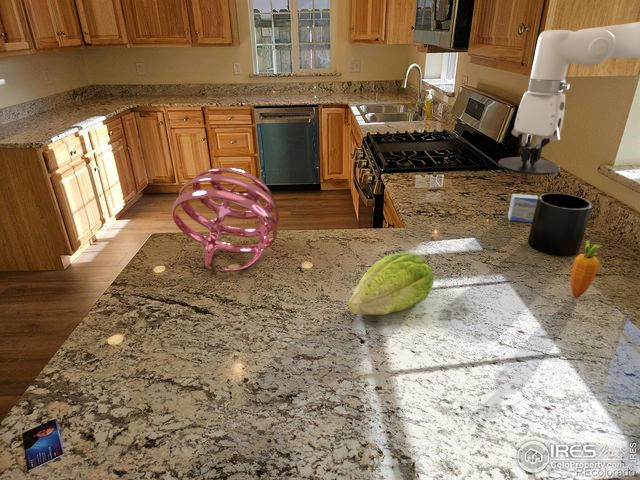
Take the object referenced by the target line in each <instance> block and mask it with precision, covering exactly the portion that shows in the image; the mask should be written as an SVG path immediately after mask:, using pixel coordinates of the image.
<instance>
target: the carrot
mask: <svg viewBox="0 0 640 480" xmlns="http://www.w3.org/2000/svg"><path fill="white" fill-rule="evenodd" d="M590 242H591V241H590V240H586V241H585V246H584V253H580V254H578V255H576V256H575V257H574V260H573V264H572V267H571V272H570V290H571V294H572V296H573V298H574V299H579V298H580V297H582V295H584V294H585V293H586V292H587V291H588V289H589V288H590V286H591V285H592V283H593V281H594V280H595V277H596V275H597V273H598V271H599V267H600V260H599V259H598V258H597V257H596V256H598V253H597V252H595V251H597V250H598V249H600V248H602V246H601V245H600V244H599V245H598V244H594V245H593V246H591V243H590Z"/></svg>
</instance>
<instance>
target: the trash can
mask: <svg viewBox="0 0 640 480" xmlns="http://www.w3.org/2000/svg"><path fill="white" fill-rule="evenodd" d="M537 196H538V200H537V204H536V208H535V213H534V217H533V221H532V223H531V224H530V225H531V226H530V230H529V234H528V238H527V244H528V246H529V247H530V248H531V249H532V250H535V251H536V252H538V253H540V254H543V255H546V256H547V255H548V256H552V257H558V258H568V257H574V256H577V254H579V252H580V249H581V246H582V243H583V240H584V236H585V233H586V229H587V226H588V222H589V218H590V215H591V212H592V209H593V203H592V202H591V201H590V200H588V199H587V198H584V197H581V196H579V195H574V194H570V193H563V192H543V193H541V194H539V195H537Z"/></svg>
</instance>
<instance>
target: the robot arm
mask: <svg viewBox="0 0 640 480" xmlns="http://www.w3.org/2000/svg"><path fill="white" fill-rule="evenodd" d="M617 59H618V60H620V59H630V60H640V21H635V22H629V23H622V24H613V25H607V26H597V27H589V28H582V29H579V30H576V31H572V30H570V29H569V30H568V29H547V30H543V31H541V33H539V36H538V38H537V43H536V46H535V52H534V58H533V63H532V67H531V68H532V69H531V71H530V77H529V81H528V87H527V91H525V92H524V93H523V94H522V95H523V96H522V97H521V101H520V104H519V106H518V110H517V113H516V116H515V121H514V126H513V128H512V130H511V134H512V135H513V136H514V137H516V138H518V140H519V141H520V144H521V146H522V150H521V153H520V157H522V159H521V162H523V160H524V155H525V154H523V151H524V148H525V147H528V146H531V145H532V140H533V136H537V137H536V142H535V144H536V145H535V148H533V150H532V154H529V155H528V159H527V161H528V160H529V159H530V164H533V163H536V162H538V160H539V159H541V157H542V156H541V155H542V151H543V148H544V147H546V146H547V145H548V144H551V143H557V142H560V140H561V132H562V128H563V123H564V117H565V108H566V93H563V92H564V91H565V90H567V91H568V90H569V89H570V88H571V87H570V86H571V85H570V83H567V82H566V77H567V72H568V69H569V65H570V64H574V65H575V64H577V65H582V66H596V65H600V64H603V63H605V62H606V61H607V60H617Z"/></svg>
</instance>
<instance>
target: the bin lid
mask: <svg viewBox="0 0 640 480" xmlns="http://www.w3.org/2000/svg"><path fill="white" fill-rule="evenodd" d="M535 145H536V143H534V144H531V146H528V147H525V148H524V151H523V154H525V155H524V160H523V162H521V159H522V157H521V156H511V157H504V158H500V159H499V160H498V162H497V166H499V167H500V168H501V169H503V170H506V171H509V172H512V173H517V174H521V175H529V176H551V175H555V174H558V173H560V171H561V166H560V165H558V164H557V163H555V162H553V161H549V160H545V159H541V158H540V159H539V160H538V162H536V163H533V164H530V159H529V160H528V161H527V159H528V155H529V154H530V155H531V154H532V150H533V148H535Z"/></svg>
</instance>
